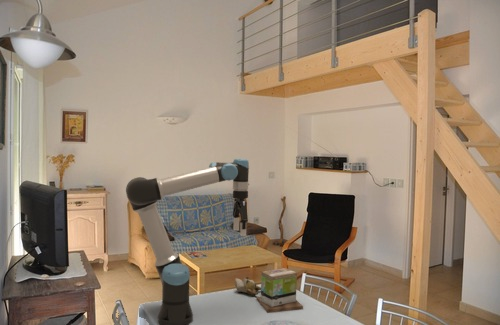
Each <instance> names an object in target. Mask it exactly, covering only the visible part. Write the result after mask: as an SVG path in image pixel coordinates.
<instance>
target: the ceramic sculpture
mask: <svg viewBox="0 0 500 325" xmlns="http://www.w3.org/2000/svg"><path fill="white" fill-rule="evenodd" d="M234 283H235V284H234V285H235V289H236V292H237V294H238V293H241V292H242V293H246V294H248V295H250V296H257V295H259V292H258V291H261V286H259V285H257V282H256V281H255V280H254V279H250V278H249V277H244V278H243V279H240V278H237V277H235V278H234Z"/></svg>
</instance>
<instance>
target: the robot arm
mask: <svg viewBox="0 0 500 325" xmlns="http://www.w3.org/2000/svg"><path fill="white" fill-rule="evenodd" d="M249 169H250V166H249V160H248V159H247V158H234V159H233V162H220V161H219V162H210V163H209V166H208V167H206V168H201V169H198V170H194V171H189V172H185V173H181V174H177V175H173V176H168V177H165V178H161V179H159V178H158V177H154V178H150V179H147V178H145V177H141V176H140V177H134V178H132V179H131V180H129V181H128V183H127V184H126V187H125V192H126V197H127V200H128V201H129V204H130V206H131V208H132V211H133V212H135V213H137V215H138V217H139V218H140V221H141V224H142V226H143V229H144V232H145V234H146V236H147V239H148V242H149V244H150V246H151V249H152V252H153V254H154V257H155V259H156V261H155V263H154V266H155V268H156V271H157V273H158V277H159V279H160V281H161V286H162V290H161V292H162V297H161V298H162V299H161V300H162V302H161V306H160V309H159V311H158V314H157V323H158V324H159V325H189V324H191V323H192V322H193V320H194V314H193V310H192V308H191V304H190V278H191V274H190V268H189V267H188V266H187V265H186V264H183V262H182V260H181V257H180V255H179V253H177V252H176V251H174V248H173V246H172V243H171V241H170V238H169V235H168V232H167V231H166V228H165V226H164V222H163V220H162V216H161V215H160V212H159V210H158V208H157V204H158V201H160V200H163V199H164V197H166V196H170V195H175V194H178V193H183V192H186V191H190V190H194V189H198V188H201V187H205V186H206V187H207V186H209V185H213V184H216V183H222V182H225V181H229V182H230V181H232V189H233V190H232V198H233V200H234V202H233V208H232V217H233V227H232V228H233V231H237V232H238V231H239V235H240V237H246V236H247V222H249V218H248V209H247V207H248V206H247V201H246V199H249V191H248V190H249V186H250V183H249Z"/></svg>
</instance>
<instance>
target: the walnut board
mask: <svg viewBox="0 0 500 325" xmlns="http://www.w3.org/2000/svg"><path fill="white" fill-rule="evenodd" d="M260 298H261V296H256V302H257V303H258V304H259V305H260V306H261V307H262V309H263V310H265V312H266V313H267V314H268V313H277V312H286V311H287V312H289V311H296V310H297V311H298V310H304V305H303V304H302V303H300V302H299V301H298V300H297V299H296V301H295V302H291V303H286V304H282V305H277V306H274V307H271V306H269V305H267V304H265V303H263V302H262V301H260Z"/></svg>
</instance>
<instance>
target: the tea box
mask: <svg viewBox="0 0 500 325" xmlns="http://www.w3.org/2000/svg"><path fill="white" fill-rule="evenodd" d="M260 276H261V277H260V278H261V280H260V288H261V290H260V297H261V298H260V301H262V302H263V303H265V304H267V305H269V306H271V307H274V306H277V305H282V304H286V303H291V302H295V301H296V300H297V281H298V278H297V277H298V272H296V271H294V270H291V269H289V268H286V267H283V268H277V269H276V268H275V269H272V270H271V269H270V270H263V271H261V275H260Z"/></svg>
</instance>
